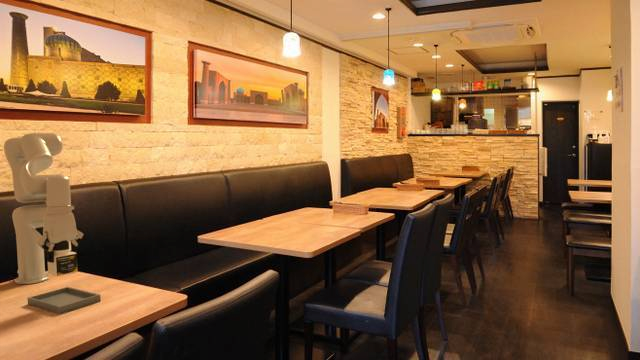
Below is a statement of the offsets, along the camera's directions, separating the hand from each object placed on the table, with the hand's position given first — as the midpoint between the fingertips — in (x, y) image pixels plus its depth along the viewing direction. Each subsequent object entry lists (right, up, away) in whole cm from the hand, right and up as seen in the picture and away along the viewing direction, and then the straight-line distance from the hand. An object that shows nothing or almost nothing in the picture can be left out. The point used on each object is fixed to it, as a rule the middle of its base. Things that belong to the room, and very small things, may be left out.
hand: (62, 259), depth 170 cm
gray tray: (0, -16, +1) cm, 16 cm away
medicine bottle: (0, -5, 0) cm, 5 cm away
